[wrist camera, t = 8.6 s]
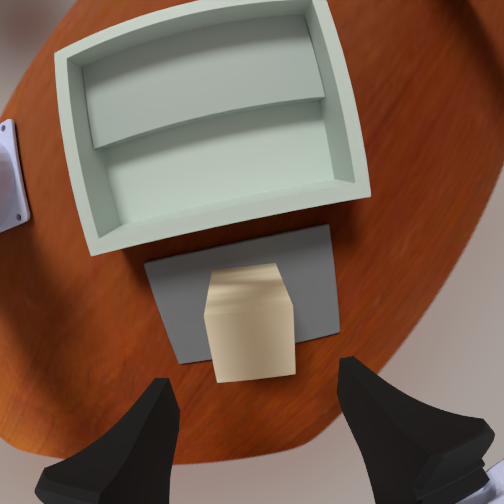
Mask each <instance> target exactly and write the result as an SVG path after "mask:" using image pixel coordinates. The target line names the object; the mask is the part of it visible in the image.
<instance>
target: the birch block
mask: <svg viewBox="0 0 504 504" xmlns="http://www.w3.org/2000/svg"><path fill="white" fill-rule="evenodd" d="M204 320H205V325H206V330H207V335H208V340H209V345H210V350H211V355H212V360H213V365H214V370H215V374H216V379H217V383H220V382H232V381H243V380H253V379H262V378H270V377H278V376H285V375H292V374H295V340H294V314H293V304H292V302H291V299H290V297H289V295H288V292H287V290H286V287H285V285H284V282H283V280H282V277H281V275H280V272H279V270H278V268H277V265H276V263H272V264H263V265H254V266H245V267H235V268H226V269H217V270H212V273H211V278H210V284H209V289H208V295H207V300H206V306H205V312H204Z"/></svg>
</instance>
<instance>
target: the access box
mask: <svg viewBox="0 0 504 504" xmlns="http://www.w3.org/2000/svg"><path fill="white" fill-rule="evenodd" d="M55 74H56V87H57V98H58V107H59V116H60V123H61V130H62V137H63V143H64V149H65V154H66V160H67V165H68V170H69V175H70V180H71V184H72V189H73V193H74V197H75V201H76V205H77V209H78V213H79V217H80V220H81V224H82V228H83V231H84V235H85V238H86V241H87V245H88V248H89V251H90V254H91V256H94V255H98V254H102V253H106V252H110V251H114V250H118V249H122V248H126V247H130V246H134V245H139V244H143V243H147V242H151V241H155V240H160V239H164V238H168V237H173V236H177V235H181V234H186V233H190V232H195V231H199V230H204V229H208V228H213V227H217V226H222V225H227V224H231V223H236V222H241V221H246V220H250V219H255V218H260V217H265V216H270V215H275V214H280V213H285V212H290V211H295V210H300V209H305V208H311V207H316V206H321V205H326V204H332V203H337V202H343V201H348V200H354V199H359V198H365V197H371V191H370V183H369V176H368V169H367V162H366V156H365V150H364V144H363V138H362V133H361V128H360V123H359V118H358V113H357V108H356V103H355V99H354V94H353V90H352V86H351V82H350V78H349V74H348V70H347V66H346V62H345V59H344V55H343V51H342V48H341V44H340V41H339V38H338V34H337V31H336V28H335V25H334V22H333V19H332V16H331V13H330V10H329V7H328V4H327V1H326V0H200V1H195V2H191V3H186V4H182V5H178V6H174V7H170V8H167V9H163V10H160V11H156V12H153V13H149V14H146V15H143V16H140V17H137V18H134V19H131V20H128V21H126V22H123V23H120V24H118V25H115V26H112V27H110V28H107V29H105V30H102V31H100V32H98V33H95V34H93V35H91V36H88V37H86V38H84V39H82V40H80V41H78V42H75V43H73V44H71V45H69V46H67V47H65V48H63V49H61V50H60V51H58V52H56V53H55Z"/></svg>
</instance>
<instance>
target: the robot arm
mask: <svg viewBox="0 0 504 504" xmlns="http://www.w3.org/2000/svg"><path fill="white" fill-rule="evenodd" d="M4 127H5V130H4ZM19 215H21V219H20V217H19ZM29 219H30V211H29V207H28V202H27V198H26V193H25V189H24V184H23V179H22V174H21V168H20V162H19V156H18V149H17V141H16V133H15V124H14V121H13V120H12V119H8V120H6V121H4V122H3V123H1V124H0V232H3V231H5V230H7V229H10V228H12V227H15V226H17V225H19V224H22V223H24V222H27V221H28V220H29ZM337 395H338V399H339V402H340V405H341V409H342V412H343V414H344V416H345V418H346V421H347V422H348V425H349V427H350V429H351V431H352V434H353V436H354V438H355V440H356V442H357V444H358V446H359V449H360V451H361V453H362V456H363V459H364V462H365V465H366V469H367V472H368V476H369V479H370V483H371V486H372V490H373V494H374V499H375V503H376V504H504V459H502V460H501V461H499V462H498V463H496V464H495V465H493V466H492V467H491V468H490V469H488V470H487V471H486V472H485V471H484V469H483V468H482V467H484V465H485V463H484V461H483V460H482V457H483V456H484V454H485V453H486V451H487V450H488V449H489V447H490V445H491V443H492V442H493V440H494V436H495V433H494V431H493V430H492V429H491V428H490V426H489V425H488V424H487V423H486V421H485V420H484V419H481V418H474V417H468V416H462V415H458V414H454V413H450V412H447V411H444V410H440V409H437V408H435V407H432V406H429V405H427V404H425V403H423V402H420V401H418V400H416V399H414V398H412V397H410V396H408V395H407V394H405V393H403V392H401V391H400V390H398V389H397V388H395V387H393V386H392V385H390V384H389V383H387V382H386V381H385V380H383V379H382V378H381V377H379V376H378V375H377V374H375V373H374V372H373V371H371V370H370V369H369V368H368V367H366V366H365V365H364V364H363V363H361V362H360V361H359V360H357V359H356V358H355V357H354V356H351V357H346V358H341V359H340V362H339V375H338V386H337ZM179 418H180V409H179V407H178V404H177V401H176V398H175V395H174V392H173V389H172V386H171V383H170V380H169V378H155V379H154V380H153V381H152V383H151V384H150V385H149V386H148V388H147V389H146V390H145V391H144V393H143V394H142V395H141V396H140V398H139V399H138V400H137V401H136V402H135V404H134V405H133V406H132V407H131V408H130V409H129V411H128V412H127V413H126V414H125V415H124V416H123V417H122V418H121V419H120V420H119V421H118V422H117V423H116V424H115V425H114V426H113V427H112V428H111V429H110V430H109V431H108V432H106V433H105V434H104V435H103V436H102V437H100V438H99V439H98V440H96V441H95V442H93V443H92V444H91V445H89V446H88V447H86V448H85V449H83V450H82V451H80V452H78V453H77V454H75V455H73V456H71V457H69V458H67V459H65V460H63V461H61V462H59V463H56V464H54V465H51V466H49V467H46V468H44V470H43V472H42V474H41V477H40V479H39V481H38V484H37V486H36V488H35V494H36V496H37V497H38V498H39V499H40V500H41V501H42V502H43V503H44V504H169V491H170V476H171V468H172V463H173V458H174V453H175V448H176V442H177V437H178V432H179Z"/></svg>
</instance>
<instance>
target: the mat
mask: <svg viewBox="0 0 504 504" xmlns="http://www.w3.org/2000/svg"><path fill="white" fill-rule="evenodd" d="M272 263H276V265H277V268H278V270H279V272H280V275H281V277H282V280H283V282H284V285H285V287H286V290H287V292H288V295H289V297H290V299H291V302H292V304H293V314H294V340H295V343H298V342H302V341H306V340H310V339H315V338H319V337H323V336H327V335H330V334H334V333H338V332H340V324H339V311H338V299H337V288H336V278H335V268H334V259H333V251H332V243H331V235H330V227H329V224H323V225H318V226H313V227H308V228H303V229H298V230H293V231H288V232H283V233H279V234H274V235H269V236H264V237H259V238H254V239H250V240H245V241H240V242H235V243H231V244H226V245H221V246H217V247H212V248H207V249H202V250H198V251H193V252H189V253H184V254H179V255H175V256H170V257H166V258H161V259H156V260H152V261H147V262H145V263H144V267H145V271H146V274H147V277H148V280H149V283H150V286H151V289H152V292H153V295H154V298H155V301H156V304H157V307H158V309H159V312H160V315H161V318H162V321H163V323H164V326H165V329H166V331H167V334H168V337H169V339H170V342H171V345H172V347H173V350H174V352H175V355H176V357H177V360H178V362H179V364H183V363H190V362H197V361H204V360H210V359H212V355H211V350H210V345H209V340H208V335H207V330H206V325H205V320H204V312H205V306H206V300H207V295H208V289H209V284H210V278H211V273H212V270H217V269H226V268H235V267H245V266H254V265H263V264H272Z"/></svg>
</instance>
